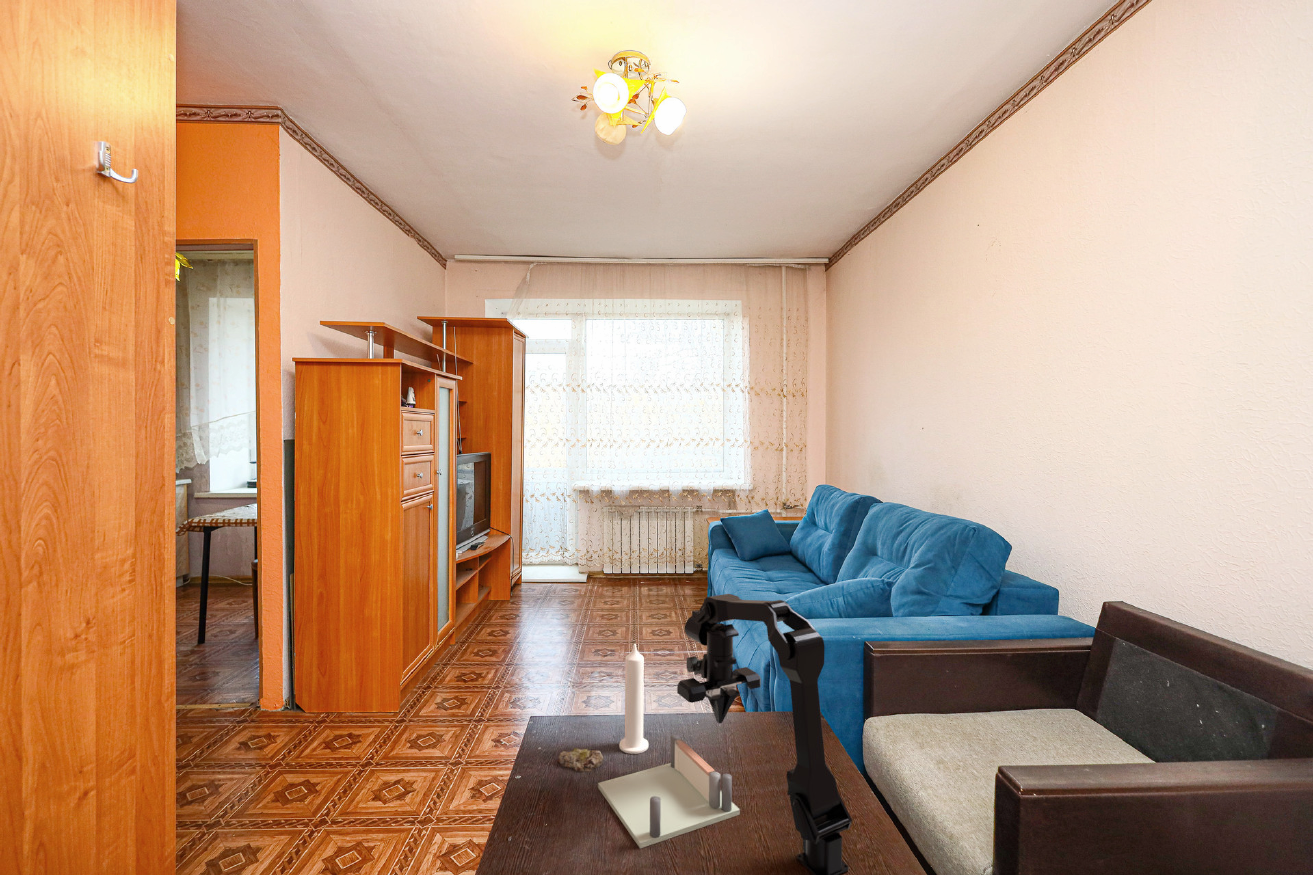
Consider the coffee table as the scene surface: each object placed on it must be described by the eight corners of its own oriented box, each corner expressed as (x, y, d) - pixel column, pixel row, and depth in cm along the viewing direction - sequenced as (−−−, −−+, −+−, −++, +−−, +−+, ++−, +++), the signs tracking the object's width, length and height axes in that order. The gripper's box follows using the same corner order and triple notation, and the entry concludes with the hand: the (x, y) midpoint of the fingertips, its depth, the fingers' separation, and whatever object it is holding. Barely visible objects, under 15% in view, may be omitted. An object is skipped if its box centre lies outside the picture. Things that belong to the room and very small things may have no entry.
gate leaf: (722, 806, 118) (722, 776, 118) (713, 809, 117) (713, 778, 117) (682, 765, 133) (682, 738, 133) (673, 767, 132) (673, 740, 132)
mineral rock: (607, 744, 141) (600, 752, 133) (607, 764, 139) (600, 774, 132) (563, 743, 142) (554, 750, 134) (562, 763, 141) (553, 772, 133)
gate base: (740, 814, 118) (740, 776, 118) (640, 848, 108) (640, 807, 108) (687, 762, 137) (687, 730, 137) (598, 787, 127) (598, 752, 127)
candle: (615, 742, 145) (615, 641, 145) (641, 736, 148) (642, 637, 148) (625, 756, 139) (626, 650, 139) (653, 750, 142) (653, 646, 142)
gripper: (734, 635, 143) (733, 699, 142) (665, 647, 134) (665, 715, 134) (762, 649, 133) (761, 719, 133) (690, 663, 124) (689, 738, 124)
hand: (719, 722), depth 131 cm, fingers closed
